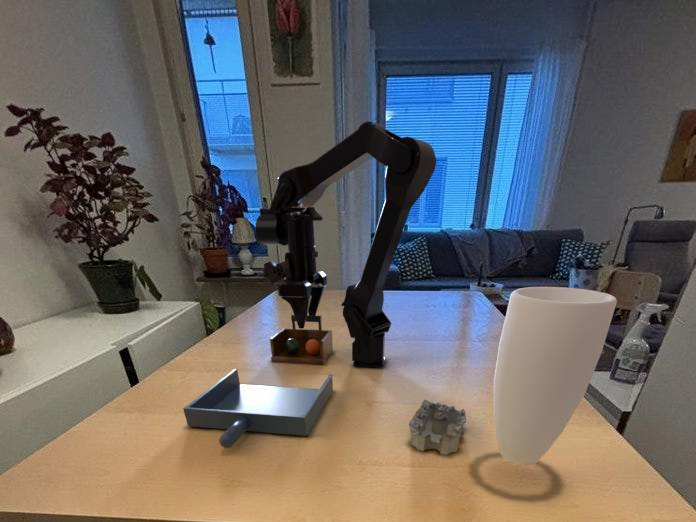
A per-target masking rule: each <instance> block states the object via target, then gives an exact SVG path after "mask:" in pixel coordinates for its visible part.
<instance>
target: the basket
mask: <svg viewBox="0 0 696 522" xmlns="http://www.w3.org/2000/svg"><path fill="white" fill-rule="evenodd" d="M290 320H291V323H292V324H291V325H292V326H291V327H292V328H284V327H283V328H282V329H281V330H279V331H278V332H277V333H275V334H274V335H272V336H271V337H270V338H269V343H270V344H269V345H270V352H271V356H270V359H271V363H284V364H285V363H286V364H301V365H319V366H324V364H325V363H326V362H327V360H328V359H329V357H330V356H331V355H332V353H334V346H333V345H334V343H333V330H331V329H330V330H327V329H323V327H322V326H323V325H322V320H323V319H322V315H316V316H311V315H309V314H307V318H306V322H305V323H318V329H308V328H307V329H306V328H303V329H302V328H296V322H297V321H296V318H295V316H294V314H291V316H290ZM291 338H292V339H295V340H297V341H298V343H299V346H300V347H299V350H298V352H297V353H295V354H290V353H288V352H287V351H286V349H285V342H286V341H287V340H288V339H291ZM312 339H313V340H316V341H318V342H319V344H320V351H319V353H318V354H316V355H311V354H309V353H308V352H307V351H306V343H307V342H308V341H309V340H312Z"/></svg>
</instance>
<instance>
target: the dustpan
mask: <svg viewBox="0 0 696 522" xmlns="http://www.w3.org/2000/svg"><path fill="white" fill-rule="evenodd" d="M239 376H240V375H239V371H238V368H234V369H232V370H231V371H230V372H228V373H227V374H226V375H224V376H223V377H222V378H221V379H220V380H218V381H217V382H216V383H214V384H213V385H212V386H210V387H209V388H208V389H207V390H205V391H204V392H203V393H201V394H200V395H198V396H197V397H196V398H195V399H194V400H192V401H191V402H190V403H188V404H187V405H186V406H184V407H183V413H184V417H185V420H186V424H187V427H194V428H195V427H196V428H204V429H205V428H207V429H217V430H219V429H220V430H225V431H224V432H223V434H221V435H220V437H219V440H218V443H219V444H220V447H222V448H224V449H229V448H232V447H233V446H234V445H235V444H236V443H237V441H238V440H239V439H240V438H241V437H242V436H243V435H244V433H245V432H254V433H255V432H256V433H258V432H259V433H267V434H280V435H293V436H304V437H305V436H306V437H307V436H309V434H310V432H311V430H312V429H313V427H314V426H315V423H316V422H317V420H318V418H319V417H320V415H321V414H322V412H323V410H324V408H325V407H326V405H327V403H328V401H329V399H330V398H331V396H332V394H333V392H334V384H333V382H334V381H333V374H329V375H328V376H327V378H326V379H325V381H324V382H323V384H321V386H320V387H319V389H318V388H306V387H292V386H291V387H289V386H276V385H275V386H274V385H273V386H272V385H258V384H257V385H256V384H242V383H240V377H239Z"/></svg>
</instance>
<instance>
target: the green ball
mask: <svg viewBox="0 0 696 522" xmlns="http://www.w3.org/2000/svg"><path fill="white" fill-rule="evenodd" d="M299 347H300V346H299V343H298V341H297V340H295V339H292V338H291V339H288V340H287V341H286V342H285V349H286V351H287V352H288V353H290V354H295V353H297V352H298V350H299Z"/></svg>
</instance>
